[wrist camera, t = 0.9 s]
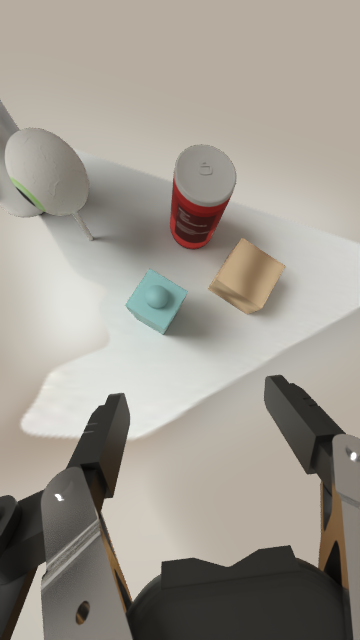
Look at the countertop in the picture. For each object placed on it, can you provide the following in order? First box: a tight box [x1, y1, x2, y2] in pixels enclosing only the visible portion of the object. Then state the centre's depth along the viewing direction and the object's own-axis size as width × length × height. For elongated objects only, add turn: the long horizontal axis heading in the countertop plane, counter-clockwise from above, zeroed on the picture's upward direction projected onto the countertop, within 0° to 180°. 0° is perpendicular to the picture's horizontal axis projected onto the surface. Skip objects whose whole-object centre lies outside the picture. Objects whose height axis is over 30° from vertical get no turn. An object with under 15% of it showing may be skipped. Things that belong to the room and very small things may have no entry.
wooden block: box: [208, 238, 285, 314], centre depth 30 cm, size 8×8×5 cm
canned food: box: [170, 145, 236, 249], centre depth 27 cm, size 8×8×11 cm
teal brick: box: [125, 269, 188, 335], centre depth 25 cm, size 5×5×11 cm
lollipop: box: [5, 128, 93, 241], centre depth 23 cm, size 7×7×15 cm
